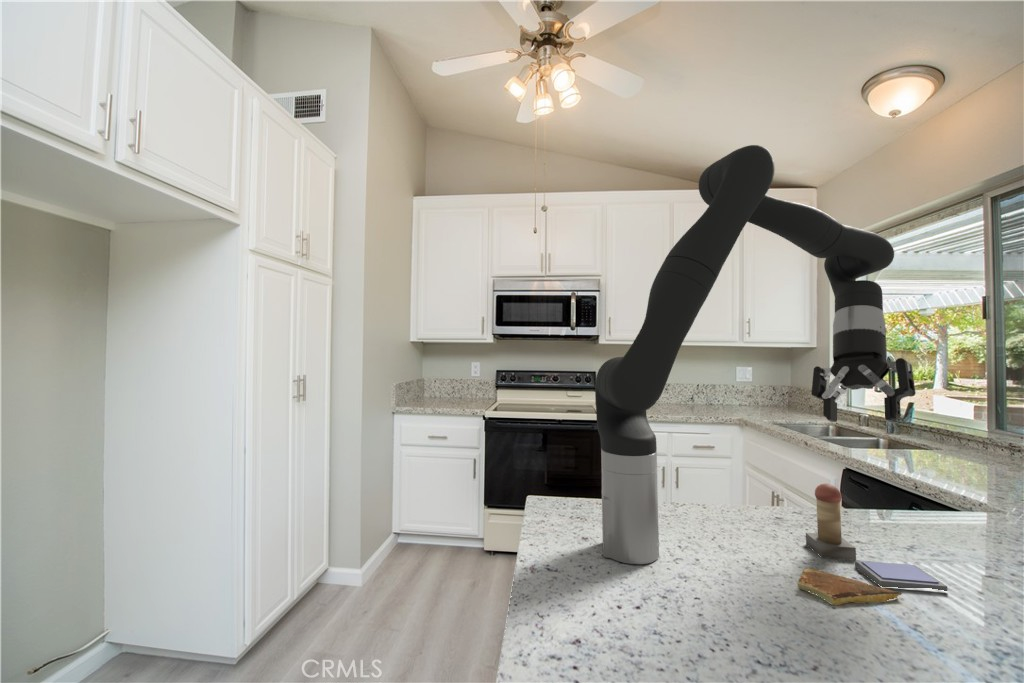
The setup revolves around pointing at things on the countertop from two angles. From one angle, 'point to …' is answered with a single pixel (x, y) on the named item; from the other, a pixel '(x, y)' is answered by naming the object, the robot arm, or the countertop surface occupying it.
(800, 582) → the brown flat slab
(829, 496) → the stamp
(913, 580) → the ink pad
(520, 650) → the countertop surface
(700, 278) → the robot arm
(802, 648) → the countertop surface
